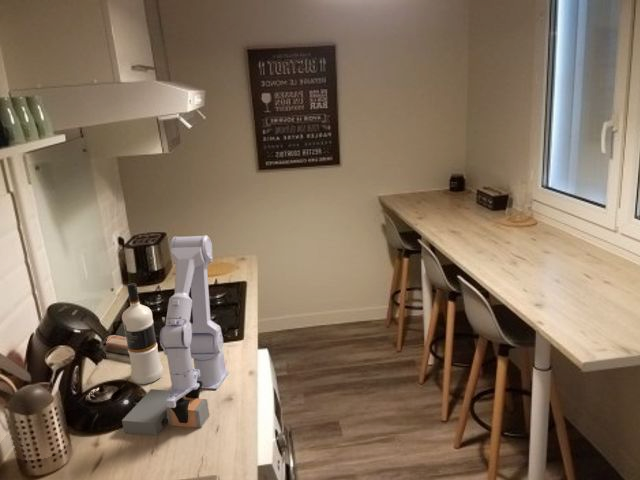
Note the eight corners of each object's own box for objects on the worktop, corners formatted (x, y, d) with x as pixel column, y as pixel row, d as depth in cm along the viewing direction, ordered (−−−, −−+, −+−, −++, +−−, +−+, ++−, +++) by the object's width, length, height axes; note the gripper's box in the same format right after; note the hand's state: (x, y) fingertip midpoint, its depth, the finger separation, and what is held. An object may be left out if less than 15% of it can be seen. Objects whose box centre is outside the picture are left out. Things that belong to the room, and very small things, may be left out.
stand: (153, 400, 145) (151, 389, 144) (182, 402, 143) (180, 391, 142) (124, 432, 132) (121, 420, 131) (156, 435, 130) (154, 423, 129)
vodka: (165, 380, 155) (149, 286, 146) (132, 388, 152) (114, 292, 143) (162, 366, 163) (147, 276, 154) (131, 373, 160) (114, 282, 151)
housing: (168, 424, 134) (165, 407, 133) (178, 413, 139) (175, 396, 137) (201, 427, 132) (198, 410, 131) (209, 415, 137) (207, 399, 135)
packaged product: (92, 343, 171) (114, 330, 180) (94, 356, 173) (117, 343, 181) (134, 351, 164) (155, 337, 173) (136, 365, 165) (157, 350, 174)
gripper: (182, 386, 123) (189, 434, 127) (208, 355, 137) (214, 400, 141) (155, 383, 125) (163, 432, 129) (183, 353, 139) (190, 398, 142)
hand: (188, 415), depth 135 cm, fingers closed on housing, 5 cm apart
